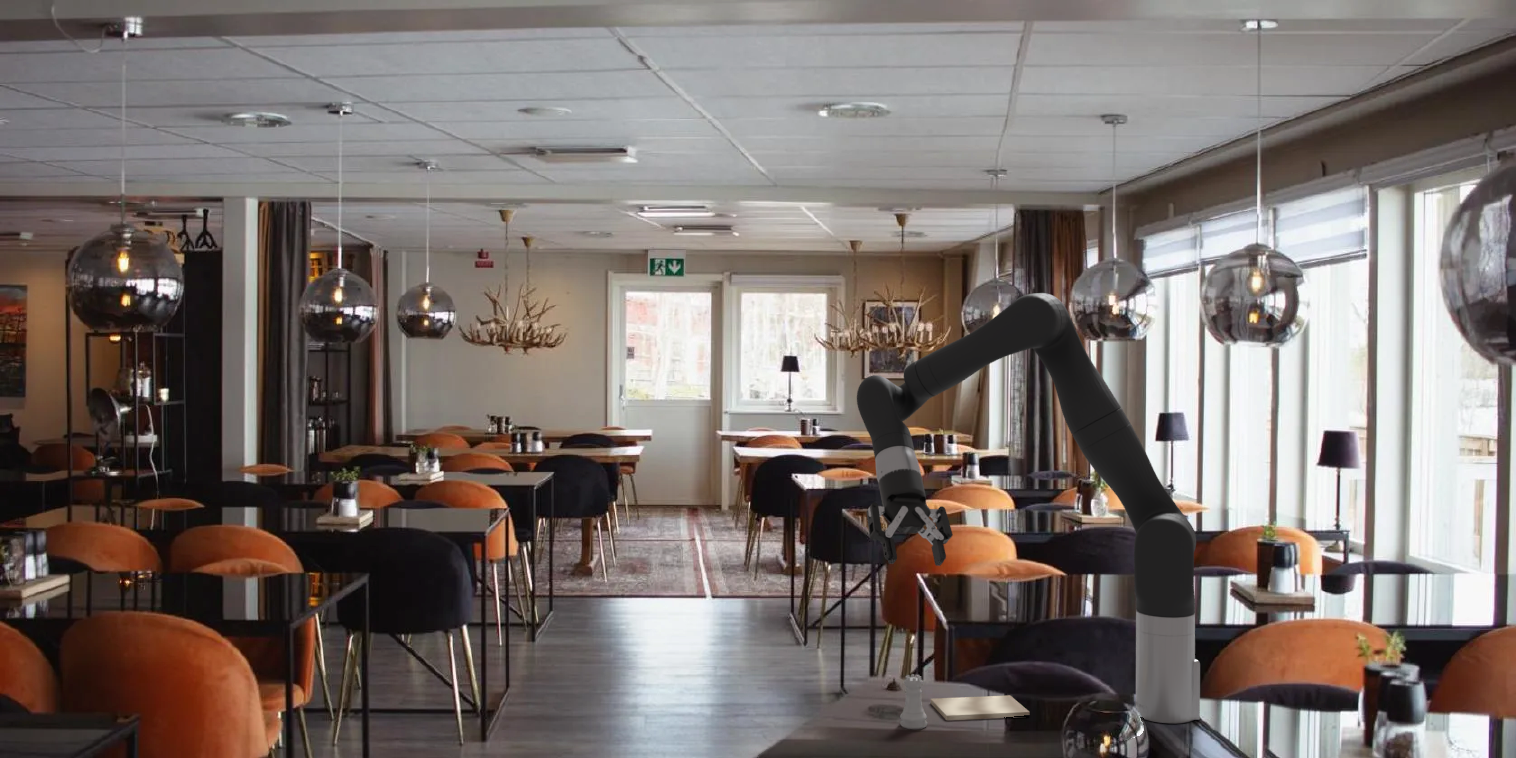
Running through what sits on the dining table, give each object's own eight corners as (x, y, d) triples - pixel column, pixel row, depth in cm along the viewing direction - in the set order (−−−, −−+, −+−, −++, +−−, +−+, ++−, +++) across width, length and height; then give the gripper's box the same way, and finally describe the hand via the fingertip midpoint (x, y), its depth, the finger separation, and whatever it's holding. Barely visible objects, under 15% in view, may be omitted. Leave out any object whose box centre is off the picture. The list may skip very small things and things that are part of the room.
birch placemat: (1010, 699, 223) (1010, 695, 223) (1029, 716, 213) (1029, 711, 213) (930, 703, 221) (930, 698, 221) (946, 720, 212) (946, 715, 211)
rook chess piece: (926, 730, 206) (926, 680, 206) (898, 729, 207) (898, 679, 207) (928, 722, 210) (928, 673, 210) (900, 721, 211) (900, 672, 211)
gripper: (869, 464, 219) (885, 550, 210) (945, 469, 223) (965, 553, 214) (853, 487, 225) (869, 571, 216) (928, 491, 229) (946, 574, 220)
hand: (916, 562), depth 215 cm, fingers open, 8 cm apart
